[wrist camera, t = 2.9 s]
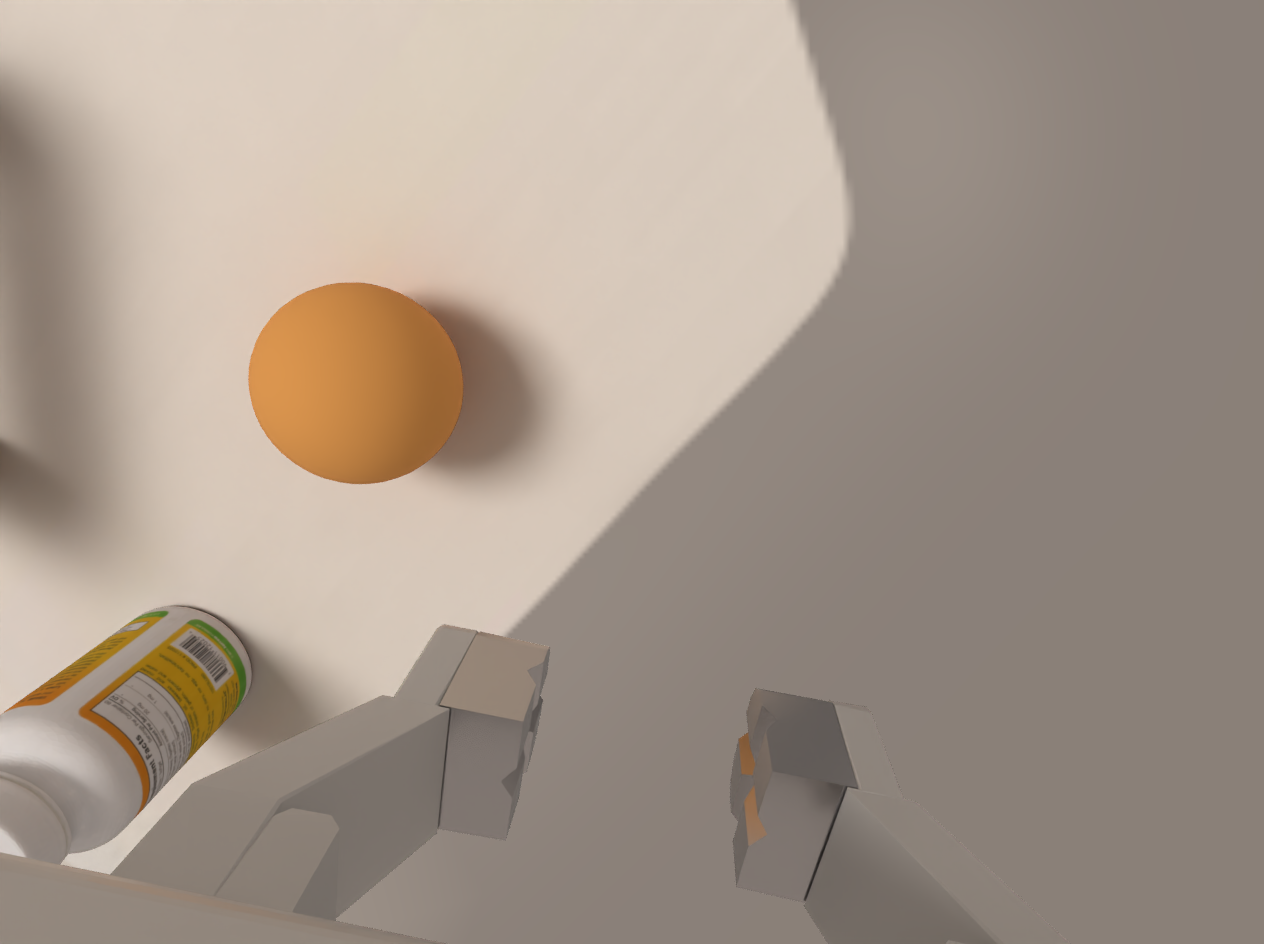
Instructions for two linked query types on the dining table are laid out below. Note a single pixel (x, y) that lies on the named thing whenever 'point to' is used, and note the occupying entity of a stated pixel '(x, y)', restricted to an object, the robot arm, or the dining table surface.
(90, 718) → the supplement bottle
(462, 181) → the dining table surface
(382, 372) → the ball
